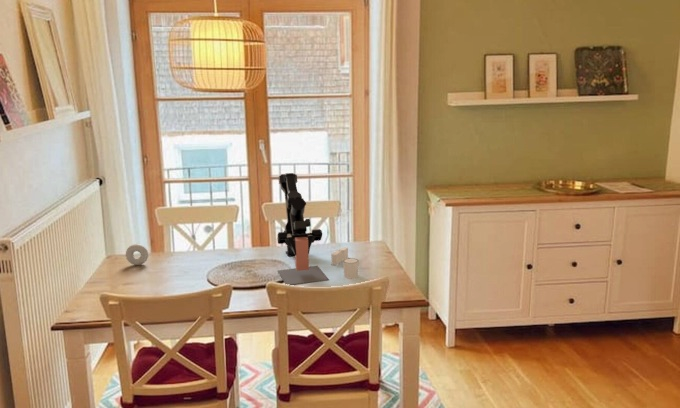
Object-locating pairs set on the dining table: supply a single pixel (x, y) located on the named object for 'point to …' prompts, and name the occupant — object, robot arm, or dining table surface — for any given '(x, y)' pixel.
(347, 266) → the shot glass
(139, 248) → the donut
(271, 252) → the dining table surface
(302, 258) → the card box
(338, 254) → the napkin holder
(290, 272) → the mat
